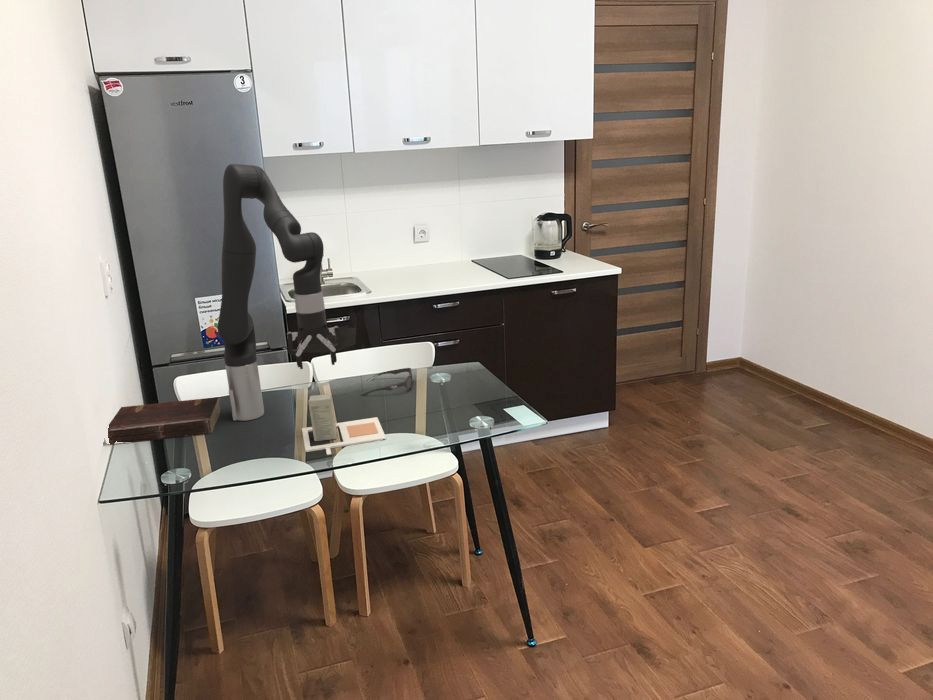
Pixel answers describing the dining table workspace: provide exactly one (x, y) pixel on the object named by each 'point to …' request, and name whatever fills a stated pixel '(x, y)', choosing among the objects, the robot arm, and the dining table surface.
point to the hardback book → (164, 420)
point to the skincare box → (322, 417)
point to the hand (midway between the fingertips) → (317, 366)
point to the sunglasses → (406, 383)
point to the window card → (349, 434)
